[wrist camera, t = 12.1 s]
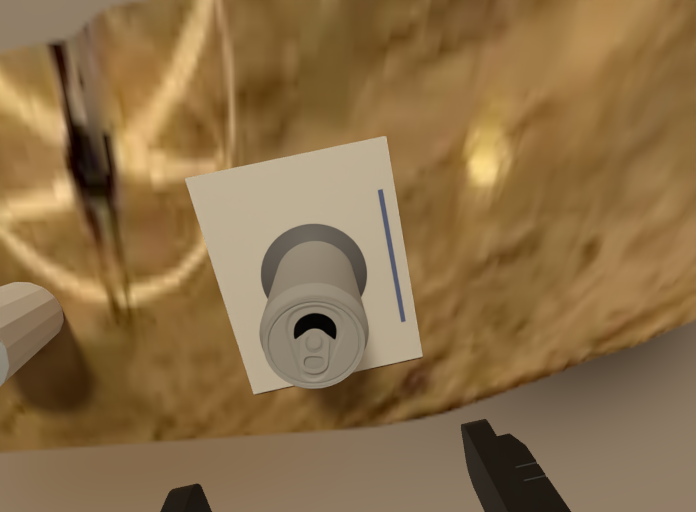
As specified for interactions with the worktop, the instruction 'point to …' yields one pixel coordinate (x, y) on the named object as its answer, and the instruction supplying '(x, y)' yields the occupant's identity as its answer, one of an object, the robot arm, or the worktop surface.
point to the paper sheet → (303, 226)
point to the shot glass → (25, 324)
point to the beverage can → (314, 317)
